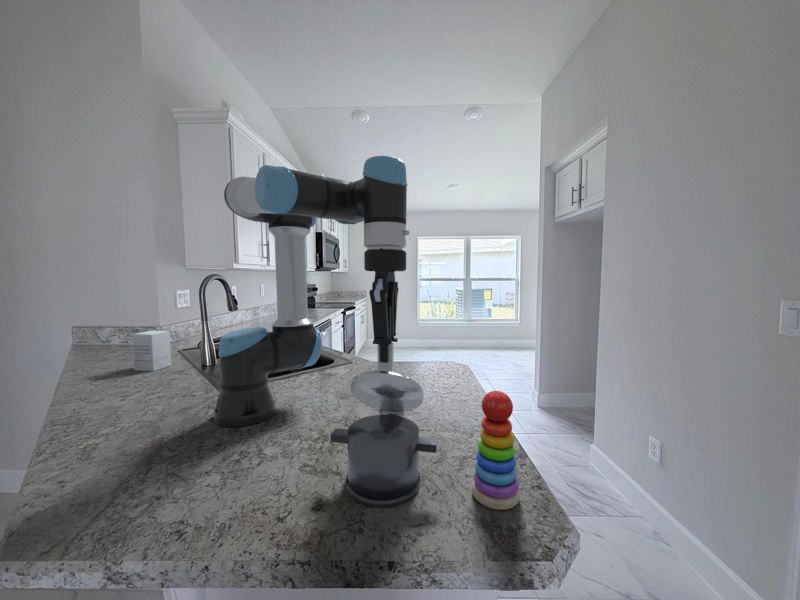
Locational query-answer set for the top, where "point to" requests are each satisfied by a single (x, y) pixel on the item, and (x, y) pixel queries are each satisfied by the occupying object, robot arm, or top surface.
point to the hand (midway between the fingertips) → (385, 377)
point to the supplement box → (151, 350)
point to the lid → (387, 392)
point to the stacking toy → (496, 455)
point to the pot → (383, 459)
